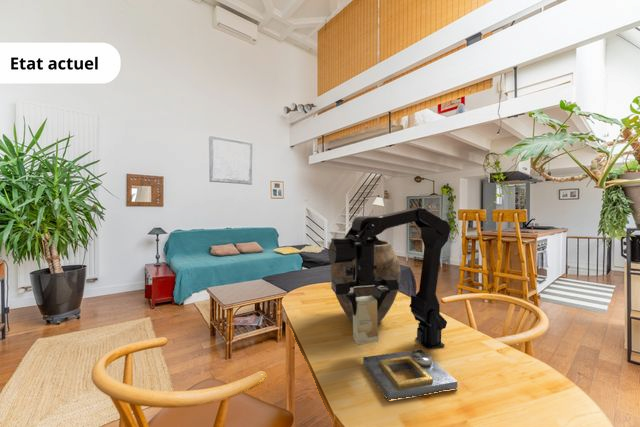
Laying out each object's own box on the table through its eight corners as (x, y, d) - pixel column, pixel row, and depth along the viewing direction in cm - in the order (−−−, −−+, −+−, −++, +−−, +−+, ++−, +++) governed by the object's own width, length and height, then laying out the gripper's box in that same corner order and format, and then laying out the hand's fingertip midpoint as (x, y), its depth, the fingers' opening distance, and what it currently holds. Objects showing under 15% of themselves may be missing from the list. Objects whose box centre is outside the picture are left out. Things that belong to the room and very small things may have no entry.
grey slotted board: (420, 356, 81) (421, 345, 81) (457, 389, 66) (457, 377, 66) (363, 364, 77) (363, 353, 77) (388, 402, 62) (388, 389, 62)
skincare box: (358, 345, 78) (356, 302, 77) (352, 338, 82) (351, 297, 81) (379, 341, 79) (377, 299, 79) (373, 334, 83) (371, 294, 83)
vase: (322, 328, 99) (321, 244, 98) (340, 303, 124) (340, 236, 122) (398, 340, 90) (398, 248, 89) (401, 310, 115) (402, 238, 114)
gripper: (383, 253, 89) (383, 301, 90) (326, 256, 85) (327, 306, 86) (400, 260, 78) (399, 315, 79) (336, 264, 74) (336, 321, 75)
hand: (365, 313), depth 80 cm, fingers closed on skincare box, 6 cm apart
